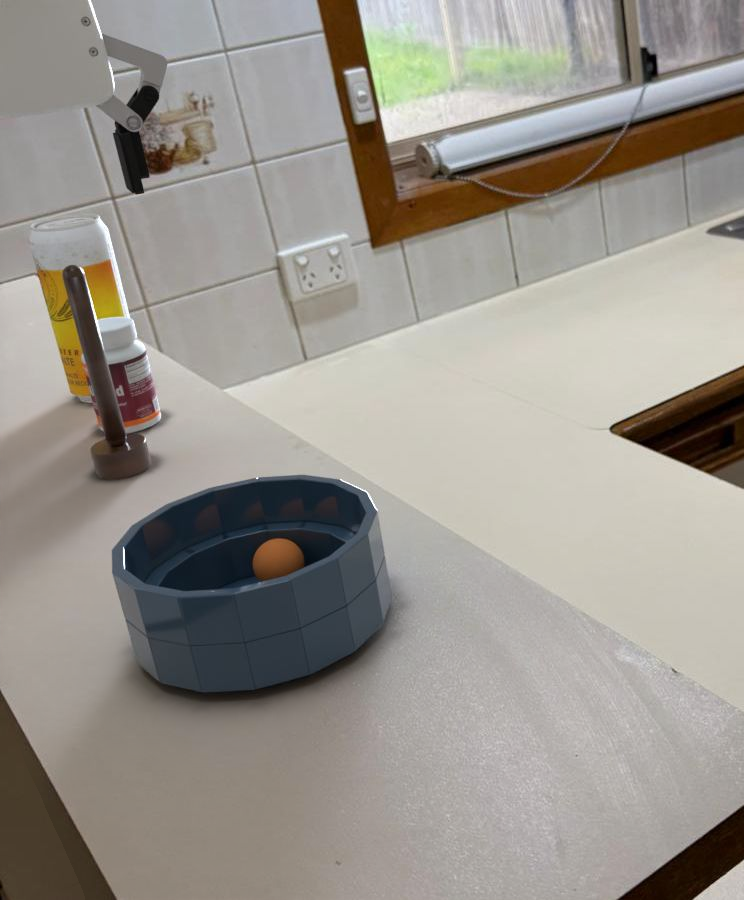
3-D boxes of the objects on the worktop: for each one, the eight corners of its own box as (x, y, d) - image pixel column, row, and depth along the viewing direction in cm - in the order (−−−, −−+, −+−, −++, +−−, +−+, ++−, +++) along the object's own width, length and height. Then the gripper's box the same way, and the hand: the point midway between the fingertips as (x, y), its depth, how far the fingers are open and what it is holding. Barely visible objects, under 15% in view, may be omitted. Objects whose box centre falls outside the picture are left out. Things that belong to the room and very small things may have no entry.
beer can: (70, 390, 100) (23, 220, 94) (142, 375, 103) (101, 209, 97) (75, 411, 95) (26, 233, 89) (151, 394, 98) (108, 220, 92)
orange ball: (251, 599, 63) (241, 555, 62) (265, 574, 66) (256, 531, 65) (301, 596, 63) (292, 552, 62) (313, 571, 66) (305, 528, 65)
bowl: (98, 709, 56) (66, 604, 53) (189, 573, 68) (166, 482, 65) (365, 694, 55) (345, 587, 53) (409, 560, 67) (394, 468, 65)
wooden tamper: (88, 481, 81) (30, 274, 75) (109, 459, 85) (55, 260, 79) (140, 478, 81) (86, 270, 75) (159, 456, 85) (109, 256, 79)
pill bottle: (86, 433, 90) (58, 332, 87) (128, 411, 94) (103, 313, 91) (134, 437, 89) (108, 335, 85) (174, 414, 93) (151, 315, 89)
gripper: (122, -86, 75) (182, 175, 82) (-181, -65, 68) (-86, 219, 75) (141, -94, 69) (204, 189, 76) (-189, -72, 62) (-86, 238, 69)
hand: (60, 204), depth 75 cm, fingers open, 9 cm apart
